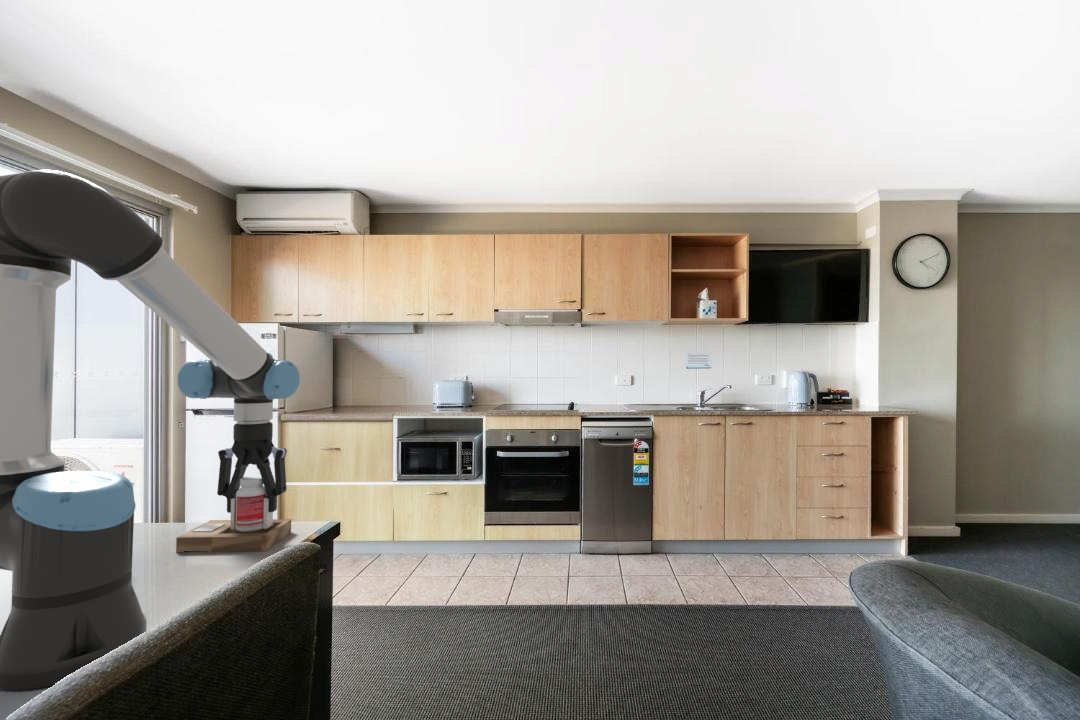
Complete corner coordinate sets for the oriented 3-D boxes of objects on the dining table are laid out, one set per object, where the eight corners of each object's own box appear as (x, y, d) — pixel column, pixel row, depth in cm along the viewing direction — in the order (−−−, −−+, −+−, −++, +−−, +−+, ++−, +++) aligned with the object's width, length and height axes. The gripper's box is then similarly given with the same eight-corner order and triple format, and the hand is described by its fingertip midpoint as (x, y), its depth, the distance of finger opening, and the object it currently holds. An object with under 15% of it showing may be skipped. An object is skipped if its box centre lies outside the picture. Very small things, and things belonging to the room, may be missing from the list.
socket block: (266, 550, 104) (266, 535, 104) (176, 552, 103) (176, 536, 103) (291, 532, 116) (291, 518, 116) (210, 533, 115) (210, 519, 115)
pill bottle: (271, 528, 110) (272, 477, 110) (240, 534, 106) (240, 482, 106) (262, 522, 114) (262, 473, 114) (231, 528, 110) (232, 477, 110)
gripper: (304, 420, 115) (303, 521, 114) (218, 420, 114) (216, 522, 113) (290, 423, 107) (289, 531, 107) (197, 423, 106) (195, 533, 106)
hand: (251, 526), depth 110 cm, fingers closed on pill bottle, 6 cm apart
